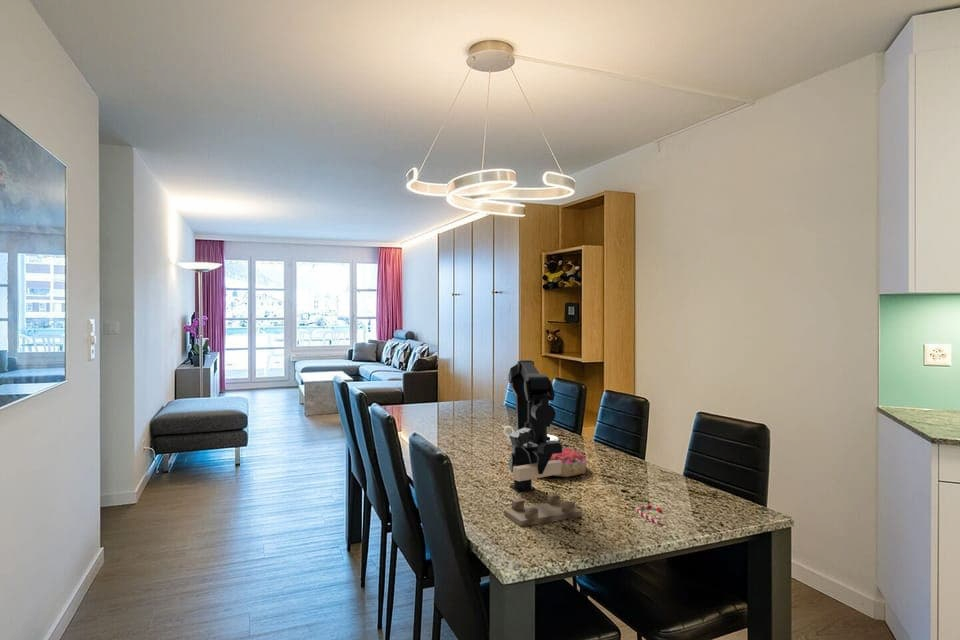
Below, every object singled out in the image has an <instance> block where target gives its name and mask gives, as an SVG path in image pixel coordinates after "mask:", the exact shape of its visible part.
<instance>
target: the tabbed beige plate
mask: <svg viewBox="0 0 960 640" xmlns="http://www.w3.org/2000/svg"><path fill="white" fill-rule="evenodd" d="M546 500H547V503H546V502H545V503H539V504H534V505H532V504H531V505H526V506H525V500H524V499H522V498H517V499H516V498H515V499H511V508H505V509H503V516H505V518H508V519H509V520H510V521H512V522H514V523H515V524H516V525H518V526H519V527H528V526H533V525H537V524H543V523H549V522H556V521H562V520H567V519H573V518H575V519H576V518H580V517H583V510H581V509H579V508H577V507H576V506H575V505H576V504H575V503H574V502H573V501H565V500H560V494H557V493H550V494H547V499H546Z"/></svg>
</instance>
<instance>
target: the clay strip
mask: <svg viewBox="0 0 960 640" xmlns="http://www.w3.org/2000/svg"><path fill="white" fill-rule="evenodd" d="M556 474H561V462H560V461H557V460H551V461H548V463H547V466H546V468H545V470H544V472H543V474H539V472H538V464H537V463H533V464H527V465H521V466H515V467H513V472H512V480H513V481H514V480H516V481H525V480H530V479H532V480H533V479H534V480H535V479H539V478H544V477H545V478H546V477H551V476H552V475H556Z"/></svg>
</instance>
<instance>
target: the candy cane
mask: <svg viewBox="0 0 960 640" xmlns="http://www.w3.org/2000/svg"><path fill="white" fill-rule="evenodd" d="M643 510H655V511H657V513H659V514H660V513H661V514H662V513H663V510H662V508H660V507H659V506H656V505H650V504H648V505H647V504H645V505H640V506H638V507H636V509H635V511H636V514H637V515H639V516H640V517H642V518H643V519H644V520H646V521H648V522H650V523H653V524H655V525H657V526H660V527H661V526H663V522H661V521H660V520H657V519H655V518H653V517H651V516H649V515H648V514H646V513H644V512H643Z"/></svg>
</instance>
